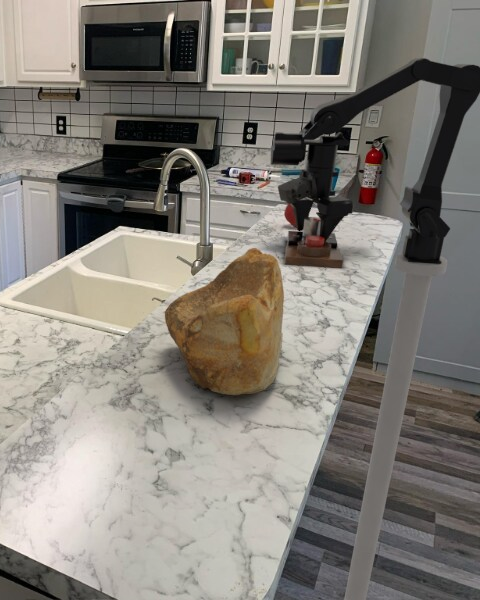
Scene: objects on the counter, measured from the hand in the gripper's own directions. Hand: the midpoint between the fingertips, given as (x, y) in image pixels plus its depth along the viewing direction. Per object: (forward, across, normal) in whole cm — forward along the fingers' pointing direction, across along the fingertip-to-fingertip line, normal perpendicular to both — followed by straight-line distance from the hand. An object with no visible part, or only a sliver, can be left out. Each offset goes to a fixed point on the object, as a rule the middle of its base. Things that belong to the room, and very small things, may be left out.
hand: (311, 236), depth 136 cm
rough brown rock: (+3, +45, -42) cm, 62 cm away
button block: (+2, +8, -4) cm, 10 cm away
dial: (0, 0, 0) cm, 0 cm away
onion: (+3, -16, +6) cm, 17 cm away
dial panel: (+2, 0, 0) cm, 3 cm away
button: (-1, +8, -4) cm, 9 cm away
